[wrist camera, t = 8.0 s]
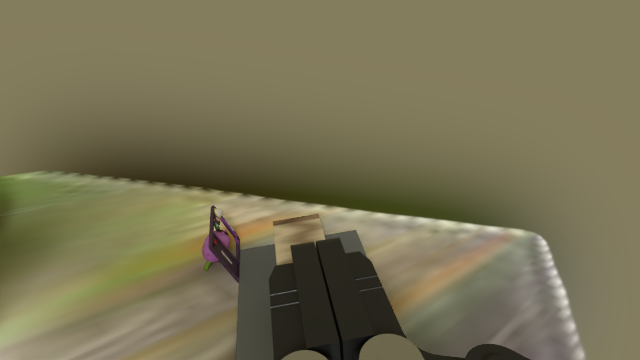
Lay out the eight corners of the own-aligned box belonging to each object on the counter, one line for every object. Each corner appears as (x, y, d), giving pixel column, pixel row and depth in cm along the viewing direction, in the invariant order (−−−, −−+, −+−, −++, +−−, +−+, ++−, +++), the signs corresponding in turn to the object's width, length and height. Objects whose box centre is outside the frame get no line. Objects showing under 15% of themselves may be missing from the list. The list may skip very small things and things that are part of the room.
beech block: (280, 312, 35) (273, 221, 47) (286, 340, 36) (277, 245, 49) (342, 300, 35) (318, 213, 48) (344, 328, 37) (320, 237, 50)
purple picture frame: (216, 243, 41) (218, 202, 49) (176, 264, 41) (184, 220, 49) (247, 279, 45) (244, 235, 52) (210, 299, 45) (212, 252, 53)
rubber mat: (234, 444, 29) (232, 440, 29) (241, 253, 50) (240, 250, 49) (424, 401, 31) (424, 397, 31) (355, 233, 51) (355, 230, 51)
